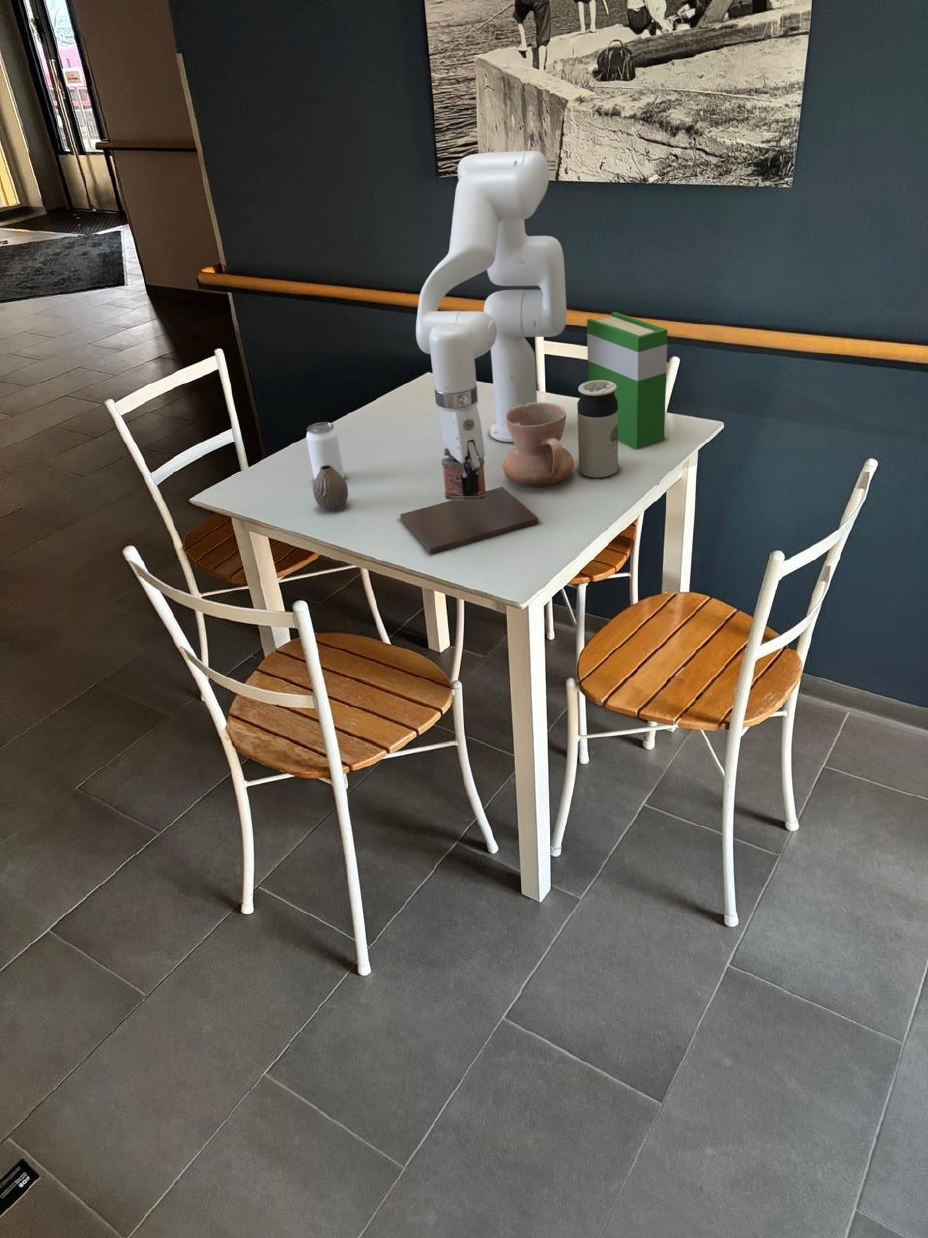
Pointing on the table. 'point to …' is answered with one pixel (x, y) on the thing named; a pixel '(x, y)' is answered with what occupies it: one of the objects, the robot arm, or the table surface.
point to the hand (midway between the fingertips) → (465, 487)
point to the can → (324, 447)
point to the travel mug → (598, 429)
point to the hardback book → (631, 373)
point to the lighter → (454, 479)
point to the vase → (330, 489)
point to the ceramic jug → (537, 445)
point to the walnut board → (467, 520)
